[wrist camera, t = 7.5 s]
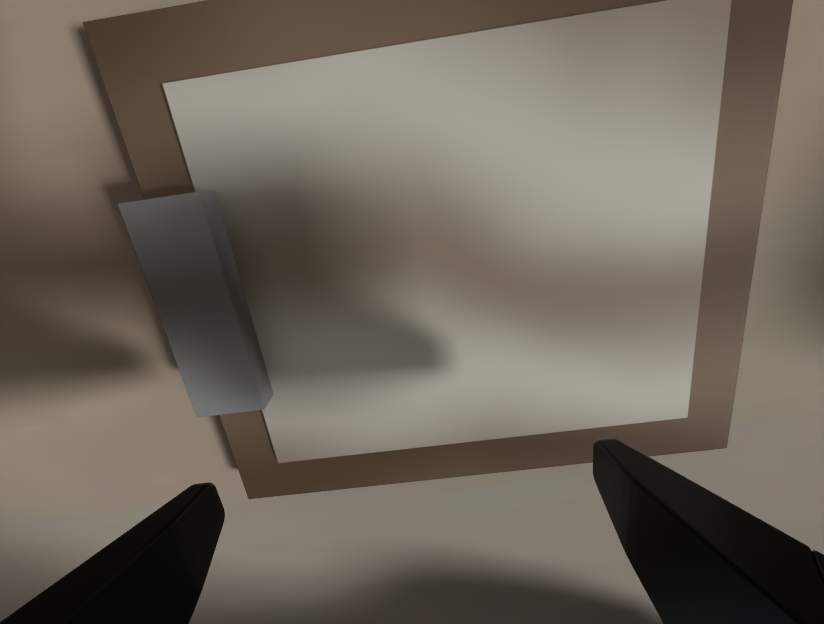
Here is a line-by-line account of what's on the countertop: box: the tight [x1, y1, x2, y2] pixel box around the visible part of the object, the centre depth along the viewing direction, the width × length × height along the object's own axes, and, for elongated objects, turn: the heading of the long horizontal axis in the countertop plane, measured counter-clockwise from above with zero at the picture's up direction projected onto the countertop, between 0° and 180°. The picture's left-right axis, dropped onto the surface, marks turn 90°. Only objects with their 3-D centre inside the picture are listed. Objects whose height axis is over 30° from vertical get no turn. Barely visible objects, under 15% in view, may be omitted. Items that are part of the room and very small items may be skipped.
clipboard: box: [83, 0, 793, 499], centre depth 11 cm, size 14×16×2 cm
